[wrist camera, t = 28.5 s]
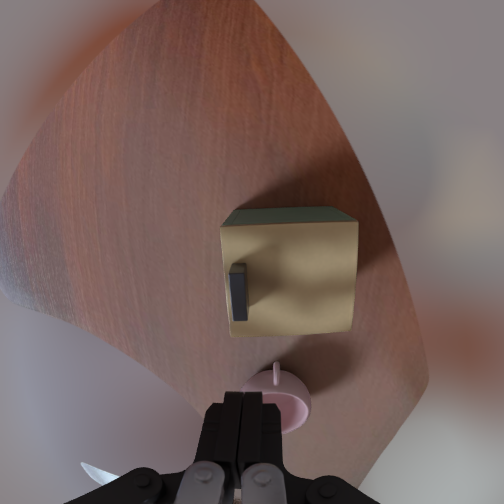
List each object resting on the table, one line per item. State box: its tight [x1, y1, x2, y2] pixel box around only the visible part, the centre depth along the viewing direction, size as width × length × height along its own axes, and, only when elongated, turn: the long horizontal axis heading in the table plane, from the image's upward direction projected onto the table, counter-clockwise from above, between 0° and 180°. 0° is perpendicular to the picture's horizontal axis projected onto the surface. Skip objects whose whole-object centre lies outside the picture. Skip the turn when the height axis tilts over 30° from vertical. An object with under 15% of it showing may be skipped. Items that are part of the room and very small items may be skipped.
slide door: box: [220, 220, 359, 337], centre depth 22 cm, size 10×11×3 cm
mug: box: [240, 361, 311, 434], centre depth 35 cm, size 12×10×6 cm
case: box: [222, 206, 356, 225], centre depth 28 cm, size 10×11×9 cm
